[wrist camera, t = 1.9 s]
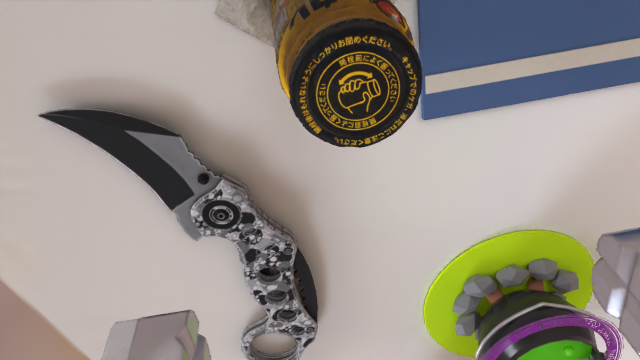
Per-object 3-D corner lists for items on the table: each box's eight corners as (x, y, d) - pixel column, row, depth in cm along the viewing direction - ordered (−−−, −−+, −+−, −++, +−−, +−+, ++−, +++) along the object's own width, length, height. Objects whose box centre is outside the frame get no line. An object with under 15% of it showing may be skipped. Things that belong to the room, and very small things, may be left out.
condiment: (338, 82, 33) (376, 192, 23) (213, 12, 29) (195, 103, 20) (409, -22, 30) (489, 51, 20) (279, -113, 26) (296, -81, 17)
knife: (31, 120, 30) (183, 55, 29) (41, 108, 32) (188, 45, 30) (248, 381, 46) (355, 349, 44) (249, 365, 47) (353, 334, 46)
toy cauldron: (611, 217, 41) (713, 326, 32) (577, 341, 50) (651, 455, 41) (424, 245, 41) (474, 364, 32) (422, 366, 49) (461, 487, 40)
